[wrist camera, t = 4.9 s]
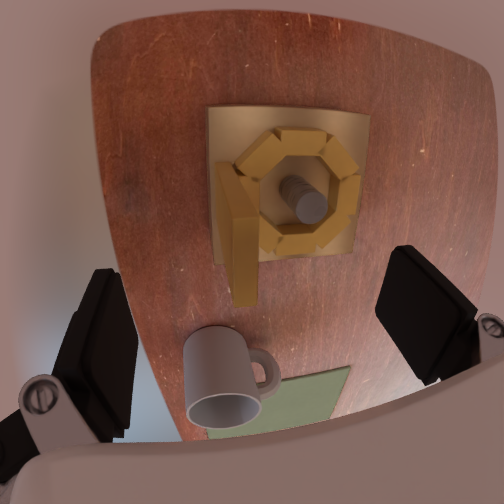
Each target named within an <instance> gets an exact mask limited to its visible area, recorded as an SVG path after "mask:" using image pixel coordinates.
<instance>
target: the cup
mask: <svg viewBox="0 0 504 504" xmlns="http://www.w3.org/2000/svg"><path fill="white" fill-rule="evenodd" d="M183 361H184V385H185V403H186V416H187V418H188V420H189V421H190V422H192V423H193V424H195V425H197V426H199V427H202V428H207V429H229V428H235V427H239V426H242V425H245V424H247V423H249V422H251V421H252V420H254V419H255V418H256V417H258V415H259V414H260V413H261V410H262V405H261V401H262V400H266V399H268V398H270V397H272V396H273V395H274V394H275V393H276V392H277V391H278V389H279V388H280V384H281V372H280V368H279V365H278V364H277V362H276V361H275V359H274V358H273V356H272V355H271V354H269V353H268V352H267V351H265V350H263V349H260V348H247V345H246V342H245V339H244V338H243V337H242V335H241V334H239V333H238V332H237V331H235V330H233V329H231V328H228V327H223V326H210V327H205V328H202V329H200V330H197V331H196V332H194V333H193V334H192V335H190V336H189V338H188V339H187V340H186V341H185V344H184V347H183ZM252 362H257V363H259V364H261V365H262V366H263V368H264V371H265V374H266V381H265V384H263V385H259V386H257V385H256V381H255V377H254V373H253V369H252V365H251V363H252Z"/></svg>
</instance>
